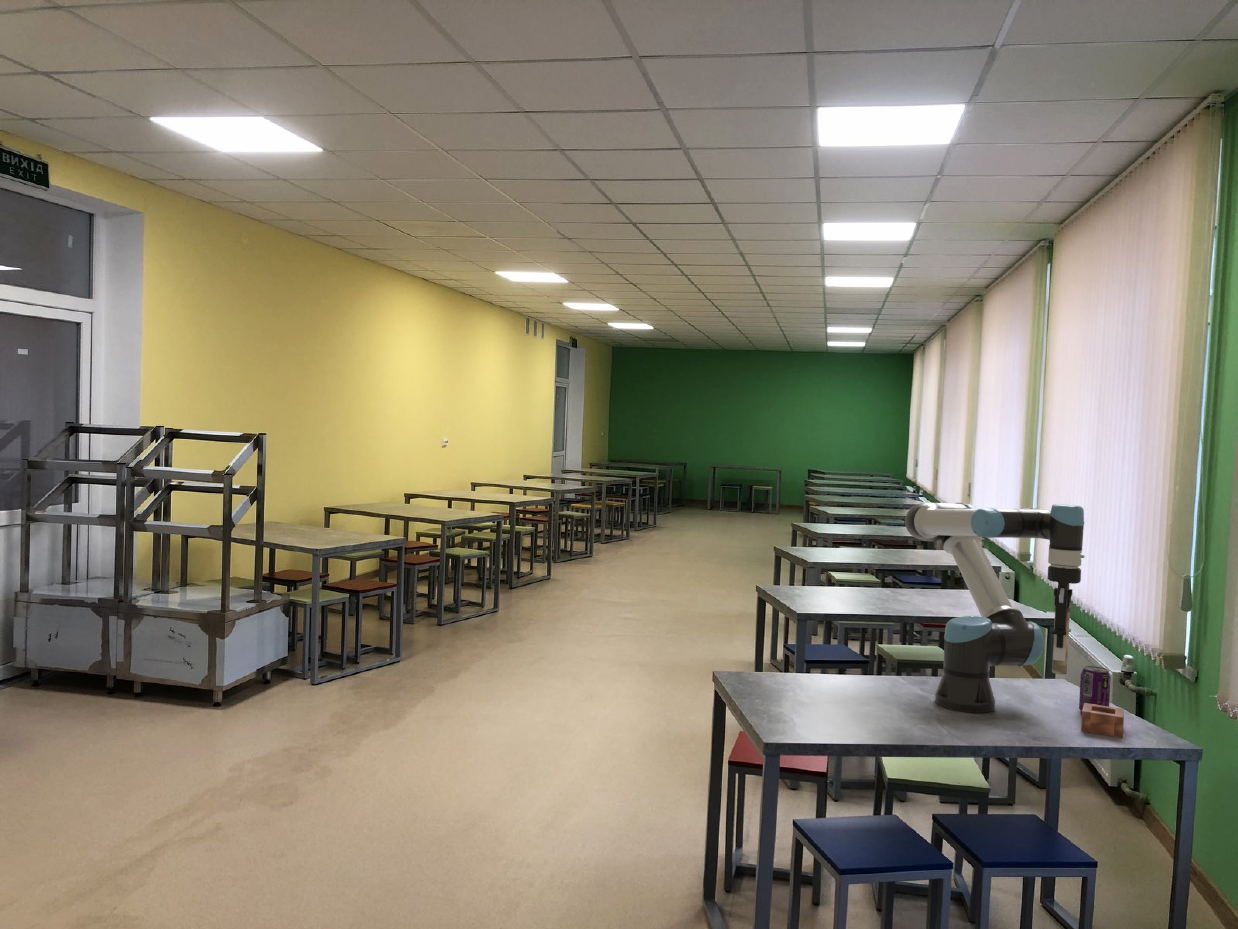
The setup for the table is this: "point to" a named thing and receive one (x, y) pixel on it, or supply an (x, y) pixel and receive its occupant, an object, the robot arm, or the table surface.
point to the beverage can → (1094, 686)
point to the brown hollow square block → (1102, 720)
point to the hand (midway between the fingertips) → (1059, 658)
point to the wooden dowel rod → (1061, 666)
